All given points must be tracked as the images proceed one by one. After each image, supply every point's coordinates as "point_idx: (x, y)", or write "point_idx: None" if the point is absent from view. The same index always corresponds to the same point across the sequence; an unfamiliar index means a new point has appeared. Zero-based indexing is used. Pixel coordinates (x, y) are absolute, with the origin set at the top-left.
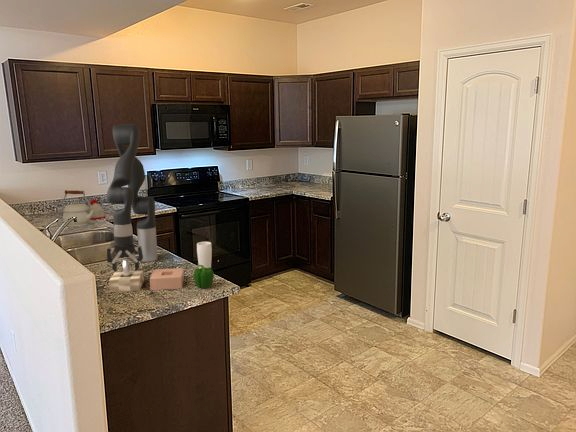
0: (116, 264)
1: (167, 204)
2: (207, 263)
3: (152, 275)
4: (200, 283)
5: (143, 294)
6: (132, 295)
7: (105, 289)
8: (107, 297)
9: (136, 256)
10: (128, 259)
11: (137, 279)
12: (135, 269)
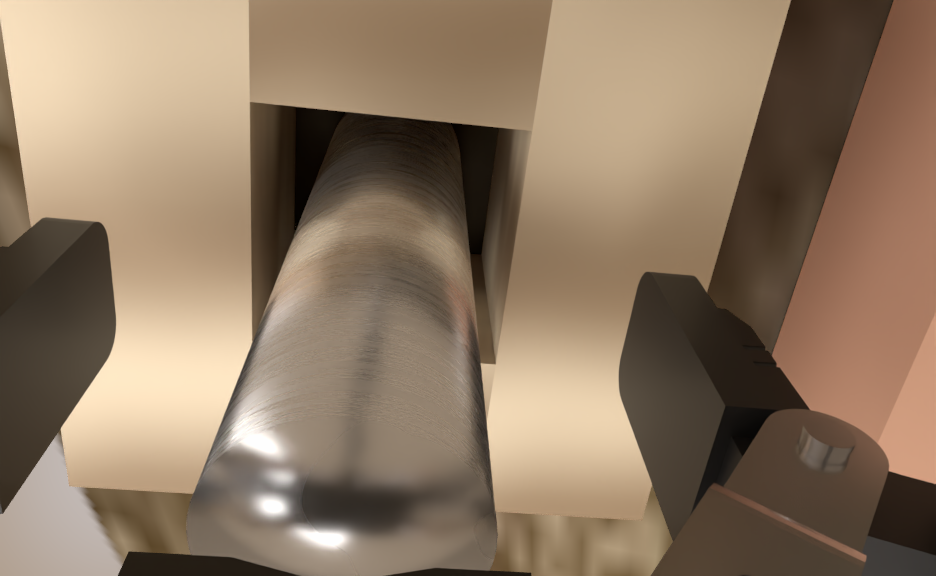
0: (16, 354)
1: None
2: None
3: (930, 386)
4: None
5: (642, 530)
6: (502, 532)
7: (25, 209)
8: (178, 528)
9: (863, 544)
10: (471, 524)
11: (617, 515)
12: (630, 405)
